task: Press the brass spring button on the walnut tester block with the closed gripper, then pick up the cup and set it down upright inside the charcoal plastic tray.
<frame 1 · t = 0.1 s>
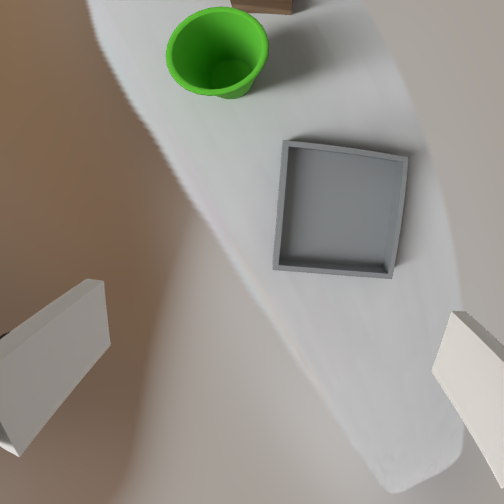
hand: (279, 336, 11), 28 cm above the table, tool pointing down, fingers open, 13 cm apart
cup: (231, 79, 34), on the table
tray: (337, 209, 37), on the table
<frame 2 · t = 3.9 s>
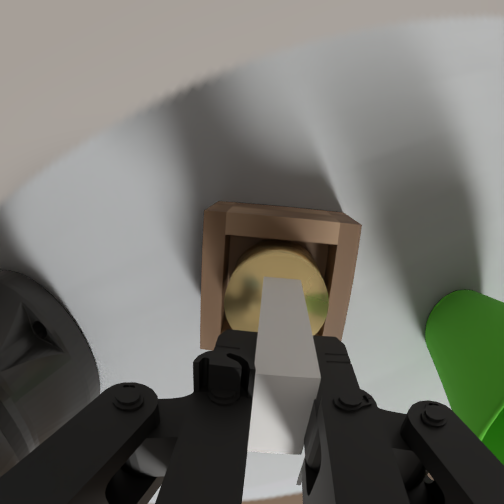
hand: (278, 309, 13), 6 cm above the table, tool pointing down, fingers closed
cup: (453, 321, 19), on the table
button: (276, 292, 15), point 4 cm above the table, slide at 1.0 cm, touching gripper
tester block: (275, 266, 19), on the table
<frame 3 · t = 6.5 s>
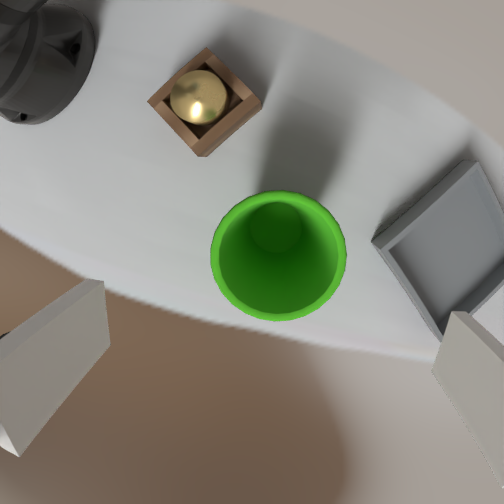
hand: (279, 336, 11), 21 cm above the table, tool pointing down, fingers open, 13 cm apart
cup: (276, 226, 32), on the table
tray: (450, 249, 31), on the table
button: (200, 98, 25), point 4 cm above the table, slide at 0.6 cm
tester block: (210, 106, 29), on the table
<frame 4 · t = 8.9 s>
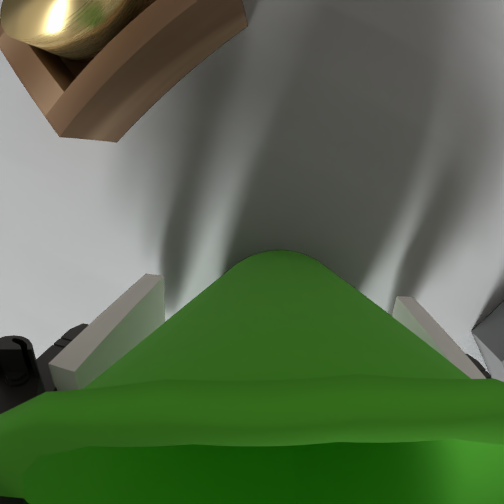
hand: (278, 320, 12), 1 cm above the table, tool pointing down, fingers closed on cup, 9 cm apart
cup: (278, 307, 13), on the table, touching gripper
tester block: (130, 32, 11), on the table
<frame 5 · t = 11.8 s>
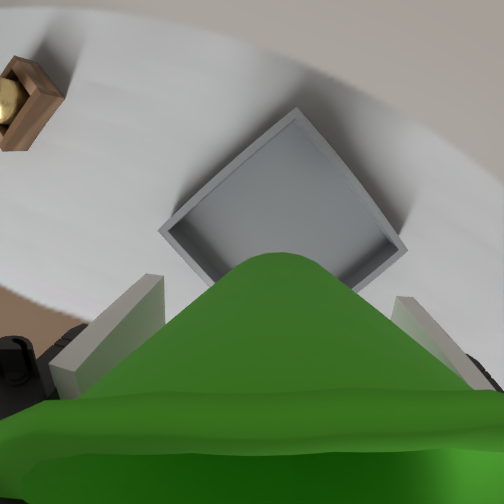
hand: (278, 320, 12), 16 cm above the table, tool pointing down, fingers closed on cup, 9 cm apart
cup: (278, 309, 13), point 15 cm above the table, touching gripper
tray: (284, 232, 27), on the table
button: (4, 101, 21), point 4 cm above the table, slide at 0.6 cm
tester block: (30, 105, 25), on the table
when the fingers open (3 cm above the table, at t = 14.7 s): cup drops 2 cm, resting on tray.
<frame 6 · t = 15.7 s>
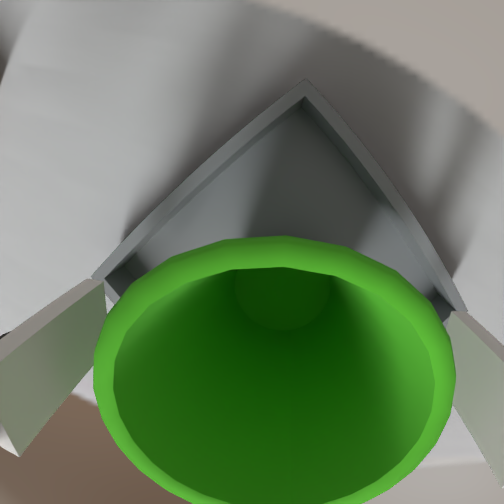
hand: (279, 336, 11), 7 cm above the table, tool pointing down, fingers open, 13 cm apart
cup: (282, 281, 17), resting on tray
tray: (285, 279, 18), on the table
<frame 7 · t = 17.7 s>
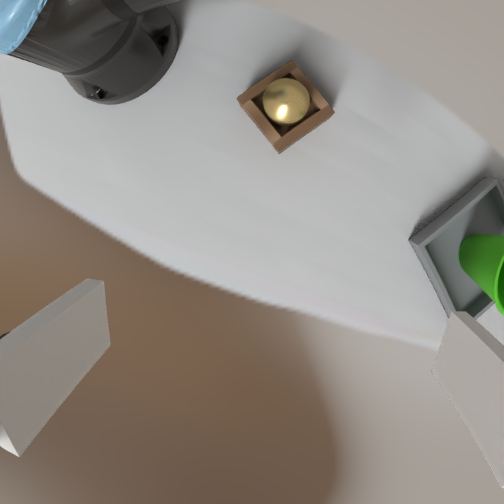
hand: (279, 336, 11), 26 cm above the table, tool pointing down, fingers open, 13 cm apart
cup: (471, 253, 35), resting on tray
tray: (471, 252, 35), on the table
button: (285, 102, 29), point 4 cm above the table, slide at 0.6 cm
tester block: (284, 111, 34), on the table
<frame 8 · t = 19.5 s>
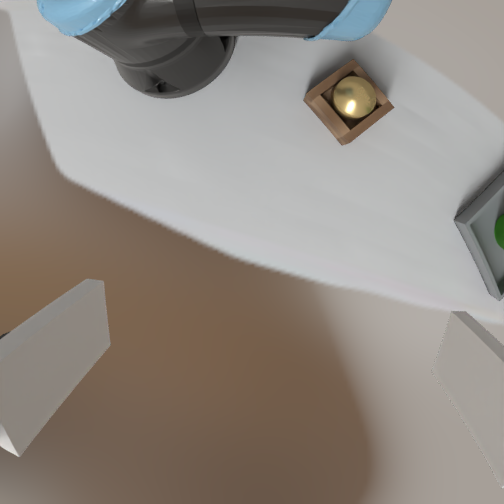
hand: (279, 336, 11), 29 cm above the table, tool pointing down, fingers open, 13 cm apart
tray: (503, 229, 37), on the table
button: (352, 98, 31), point 4 cm above the table, slide at 0.6 cm
tester block: (344, 105, 35), on the table
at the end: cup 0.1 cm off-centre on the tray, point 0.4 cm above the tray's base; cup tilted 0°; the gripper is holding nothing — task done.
